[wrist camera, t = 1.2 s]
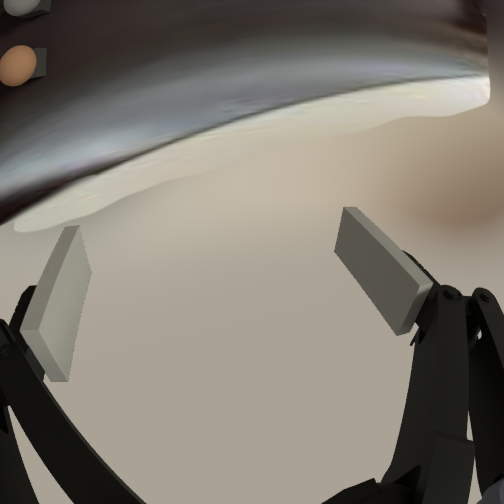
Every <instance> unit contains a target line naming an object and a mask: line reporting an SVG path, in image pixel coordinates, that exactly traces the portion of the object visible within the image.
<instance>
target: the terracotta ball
mask: <svg viewBox="0 0 504 504" xmlns="http://www.w3.org/2000/svg"><path fill="white" fill-rule="evenodd" d="M36 62H37V60H36V55H35V53H34V51H33V50H32V49H31V48H30V47H28V46H24V45H20V46H15V47H13V48H11V49H10V50H8V51H7V52H6V53H5V54H4V55H3V57H2V58H1V60H0V80H1V81H2V82H3V83H4V84H5V85H8V86H18V85H21V84H23V83H24V82H26V81H27V80H28V79H29V78H30V77H31V76H32V74H33V72H34V70H35V68H36Z"/></svg>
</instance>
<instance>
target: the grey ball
mask: <svg viewBox="0 0 504 504" xmlns="http://www.w3.org/2000/svg"><path fill="white" fill-rule="evenodd" d="M40 1H41V0H4V8H5V10H6V12H7V13H9V14H10V15H13V16H21V15H25V14H27V13H29V12H31V11H32V10H33V9H34V8H35V7H36V6H37V5H38V4H39V2H40Z"/></svg>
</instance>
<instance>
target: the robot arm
mask: <svg viewBox="0 0 504 504" xmlns="http://www.w3.org/2000/svg"><path fill="white" fill-rule="evenodd" d="M334 252H335V253H336V254H337V256H338V257H339V258H340V259H341V261H342V262H343V263H344V265H345V266H346V267H347V269H348V270H349V271H350V273H351V274H352V275H353V276H354V278H355V279H356V280H357V282H358V283H359V284H360V286H361V287H362V289H363V290H364V291H365V293H366V294H367V295H368V297H369V298H370V299H371V301H372V302H373V303H374V305H375V306H376V308H377V309H378V310H379V312H380V313H381V315H382V316H383V317H384V319H385V320H386V322H387V323H388V324H389V326H390V327H391V329H392V330H393V331H394V333H395V334H396V336H398V335H402V334H405V333H409V332H410V330H411V329H412V327H413V325H414V323H416V324H417V325H418V326H419V328H418V330H417V332H416V334H415V336H414V338H413V339H412V341H411V343H410V346H412V345H413V343H414V342H415V347H414V355H413V362H412V370H411V376H410V382H409V388H408V393H407V399H406V404H405V409H404V414H403V419H402V423H401V427H400V432H399V436H398V440H397V444H396V448H395V452H394V455H393V459H392V462H391V465H390V467H389V468H388V470H387V471H386V473H385V474H384V477H383V478H382V480H381V483H376V481H375V479H374V478H372V479H370V480H367V481H365V482H362V483H360V484H357V485H355V486H352V487H349V488H347V489H344V490H343V491H341V492H339V493H338V494H336V495H335V496H333V497H331V498H330V499H328V500H326V501H325V502H323V503H322V504H468V499H469V493H470V487H471V481H472V474H473V466H474V457H475V461H476V471H477V478H478V484H479V488H480V492H481V495H482V500H480V501H479V502H478V503H477V504H504V314H503V312H502V310H501V308H500V306H499V304H498V302H497V300H496V298H495V296H494V295H493V294H492V293H491V292H490V291H489V290H487V289H484V288H476V289H475V290H474V292H473V294H472V296H463V295H462V294H461V293H460V291H458V290H457V289H456V288H454V287H452V286H449V285H440V284H439V283H438V282H437V281H436V280H435V279H434V278H433V277H432V276H431V275H430V274H429V272H428V271H427V270H426V269H424V267H423V266H422V265H421V264H419V263H418V261H417V260H416V259H415V258H414V257H413V256H412V255H410V254H408V253H407V252H405V251H403V250H401V249H400V248H399V247H398V246H397V245H396V244H395V243H394V242H393V241H392V240H391V239H390V238H389V237H388V236H387V235H386V234H384V233H383V232H382V231H381V230H380V229H379V228H378V227H377V226H376V225H375V224H374V223H373V222H372V221H371V220H370V219H369V218H367V217H366V216H365V215H364V214H363V213H362V212H361V211H360V210H359V209H358V208H356V207H343V212H342V217H341V223H340V227H339V232H338V237H337V241H336V246H335V250H334ZM90 277H91V270H90V266H89V262H88V258H87V255H86V251H85V247H84V243H83V239H82V235H81V230H80V226H79V225H78V226H70V227H65V228H64V230H63V232H62V234H61V236H60V238H59V240H58V242H57V244H56V246H55V248H54V250H53V252H52V254H51V256H50V258H49V260H48V263H47V265H46V267H45V269H44V271H43V274H42V276H41V278H40V280H39V283H38V285H34V286H29V287H28V288H27V289H26V290H25V291H24V292H23V293H22V295H21V297H20V300H19V302H18V305H17V307H16V309H15V312H14V314H13V316H12V319H11V321H10V324H9V326H8V324H7V323H6V322H5V321H4V320H3V319H0V504H39V502H38V500H37V498H36V495H35V493H34V490H33V488H32V486H31V483H30V480H29V478H28V475H27V472H26V469H25V466H24V464H23V460H22V457H21V454H20V452H19V448H18V445H17V441H16V438H15V434H14V431H13V427H12V423H11V419H10V415H9V411H8V406H9V405H10V406H11V408H12V410H13V412H14V414H15V416H16V418H17V420H18V422H19V423H20V425H21V427H22V429H23V430H24V432H25V434H26V436H27V437H28V439H29V441H30V442H31V444H32V446H33V447H34V449H35V450H36V452H37V453H38V455H39V456H40V458H41V460H42V461H43V463H44V464H45V466H46V467H47V468H48V470H49V471H50V473H51V474H52V476H53V477H54V478H55V480H56V481H57V482H58V484H59V485H60V486H61V488H62V489H63V490H64V492H65V493H66V494H67V496H68V497H69V498H70V499H71V501H72V502H73V503H74V504H146V503H145V502H144V501H143V500H142V499H141V498H140V497H139V496H138V495H136V493H134V492H133V491H132V490H131V489H130V488H129V487H128V486H127V485H126V484H125V483H124V482H123V481H122V480H121V479H120V478H119V477H118V476H117V475H116V473H114V471H113V470H112V469H111V468H110V467H109V466H108V465H107V464H106V463H105V462H104V461H103V459H102V458H101V457H100V456H99V455H98V454H97V453H96V451H95V450H94V449H93V448H92V447H91V446H90V445H89V443H88V442H87V441H86V440H85V438H84V437H83V436H82V435H81V433H80V432H79V431H78V430H77V428H76V427H75V426H74V425H73V423H72V422H71V420H70V419H69V418H68V417H67V415H66V414H65V413H64V411H63V410H62V408H61V407H60V406H59V404H58V403H57V401H56V400H55V399H54V397H53V395H52V394H51V392H50V391H49V389H48V388H47V387H46V385H45V384H44V382H43V379H44V374H45V373H46V375H47V376H48V378H49V379H50V381H51V382H68V381H69V374H70V368H71V362H72V356H73V351H74V346H75V340H76V335H77V330H78V326H79V321H80V317H81V312H82V308H83V304H84V300H85V296H86V292H87V288H88V284H89V281H90ZM480 330H481V332H482V336H481V338H480V339H478V336H477V335H478V333H479V332H480ZM468 411H469V416H470V422H471V429H472V436H473V441H471V440H468V439H467V435H466V434H467V422H468Z"/></svg>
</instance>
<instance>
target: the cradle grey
mask: <svg viewBox="0 0 504 504" xmlns="http://www.w3.org/2000/svg"><path fill="white" fill-rule="evenodd" d="M51 1H52V0H41V1H40V2H39V4H38V5H37V6H36V7H35V8H34V9H33V10H32V11H31V12H29V13H27V14H25V15H21V16H16V17H20V18H25V19H26V18H30V17H33V16H37V15H41V14H45V13H49V12H50V9H51Z"/></svg>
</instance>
